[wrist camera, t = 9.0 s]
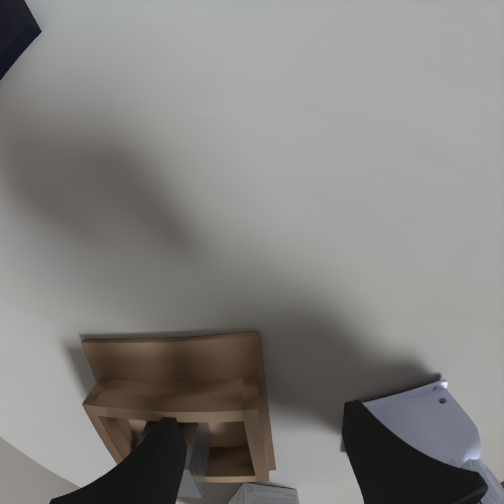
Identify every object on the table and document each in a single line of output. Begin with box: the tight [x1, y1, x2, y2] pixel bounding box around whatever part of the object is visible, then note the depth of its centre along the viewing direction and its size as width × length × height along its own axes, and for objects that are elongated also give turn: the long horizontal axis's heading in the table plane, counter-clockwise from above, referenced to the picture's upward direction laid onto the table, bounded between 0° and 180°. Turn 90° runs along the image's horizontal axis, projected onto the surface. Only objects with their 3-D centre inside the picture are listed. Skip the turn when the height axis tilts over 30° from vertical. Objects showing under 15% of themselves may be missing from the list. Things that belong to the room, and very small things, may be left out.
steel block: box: [137, 421, 212, 498], centre depth 18 cm, size 4×4×7 cm
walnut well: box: [81, 331, 276, 483], centre depth 20 cm, size 14×16×4 cm
